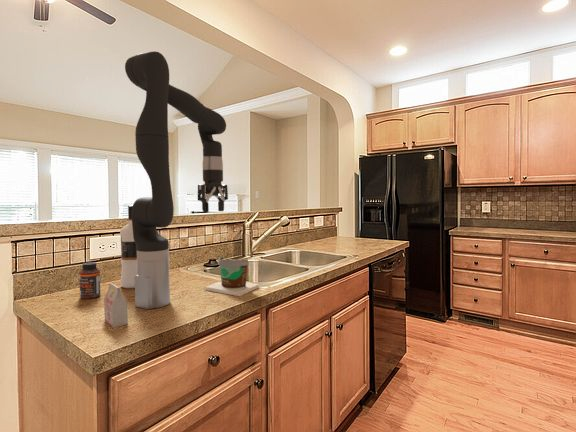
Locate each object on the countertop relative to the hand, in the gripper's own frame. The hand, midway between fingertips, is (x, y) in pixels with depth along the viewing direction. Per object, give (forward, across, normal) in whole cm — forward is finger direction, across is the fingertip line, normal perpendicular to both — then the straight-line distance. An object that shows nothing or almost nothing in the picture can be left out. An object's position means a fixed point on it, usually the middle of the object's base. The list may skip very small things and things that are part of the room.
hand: (213, 211), depth 130 cm
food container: (+26, -6, -12) cm, 30 cm away
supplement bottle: (+27, -35, +23) cm, 50 cm away
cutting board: (+27, -4, -12) cm, 30 cm away
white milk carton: (+27, -44, -5) cm, 52 cm away
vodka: (+27, -19, +22) cm, 40 cm away
